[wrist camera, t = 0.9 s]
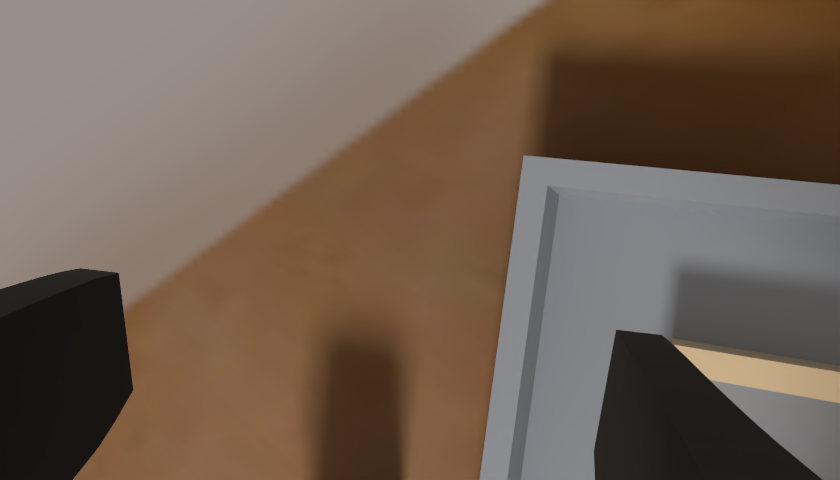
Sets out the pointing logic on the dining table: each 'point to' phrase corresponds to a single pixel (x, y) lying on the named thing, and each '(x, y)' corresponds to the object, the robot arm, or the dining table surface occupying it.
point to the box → (665, 305)
